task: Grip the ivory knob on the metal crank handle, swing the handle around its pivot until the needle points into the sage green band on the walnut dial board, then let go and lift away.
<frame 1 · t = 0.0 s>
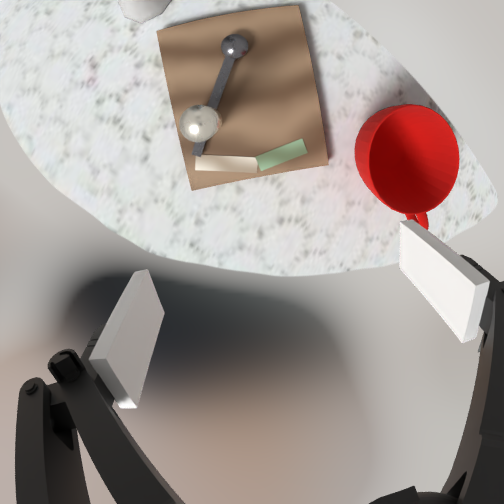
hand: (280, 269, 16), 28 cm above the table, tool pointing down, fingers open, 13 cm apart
ceramic cup: (385, 161, 41), on the table
flask: (146, 0, 30), on the table
metal crank handle: (214, 91, 31), point 7 cm above the table, hinge at -30.0°
dial board: (243, 93, 37), on the table
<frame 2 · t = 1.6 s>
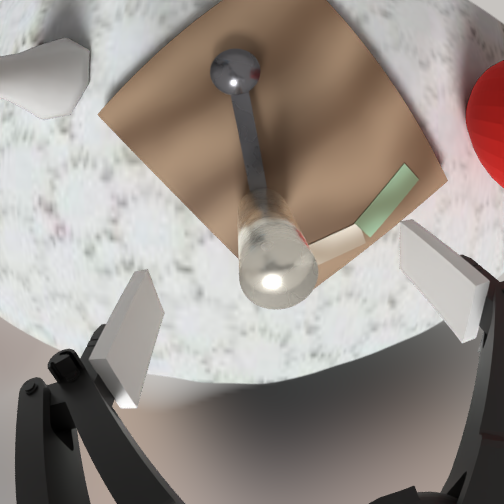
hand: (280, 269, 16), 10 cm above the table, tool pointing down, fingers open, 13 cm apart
ceramic cup: (495, 134, 23), on the table
flask: (56, 78, 19), on the table
metal crank handle: (257, 176, 17), point 7 cm above the table, hinge at -30.0°
dial board: (288, 135, 23), on the table
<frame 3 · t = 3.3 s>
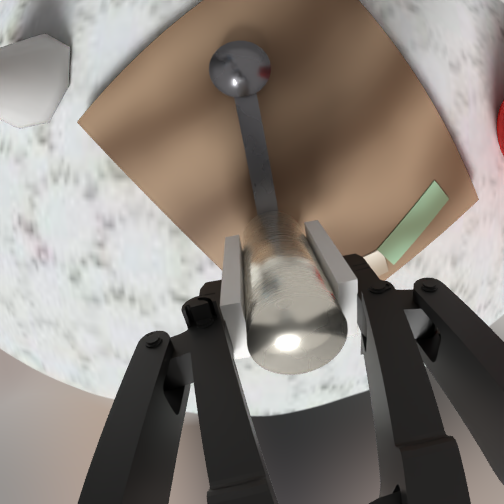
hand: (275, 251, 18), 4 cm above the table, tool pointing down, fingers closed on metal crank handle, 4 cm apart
flask: (34, 80, 16), on the table
metal crank handle: (269, 202, 14), point 7 cm above the table, hinge at -29.9°, touching gripper
dial board: (302, 146, 19), on the table
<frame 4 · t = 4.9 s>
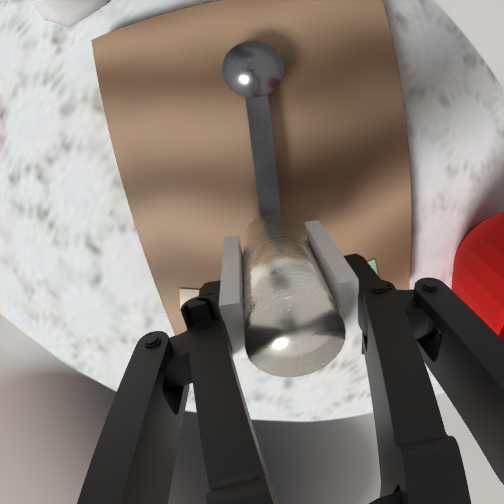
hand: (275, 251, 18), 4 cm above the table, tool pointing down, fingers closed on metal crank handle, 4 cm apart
ceramic cup: (479, 273, 24), on the table
metal crank handle: (274, 203, 14), point 7 cm above the table, hinge at -3.7°, touching gripper
dial board: (269, 167, 20), on the table
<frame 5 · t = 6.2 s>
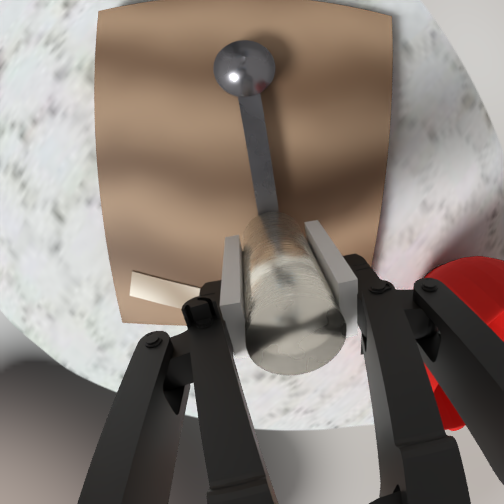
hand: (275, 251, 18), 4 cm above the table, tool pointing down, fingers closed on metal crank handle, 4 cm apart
ceramic cup: (436, 312, 26), on the table
metal crank handle: (270, 202, 14), point 7 cm above the table, hinge at 10.6°, touching gripper
dial board: (241, 168, 20), on the table
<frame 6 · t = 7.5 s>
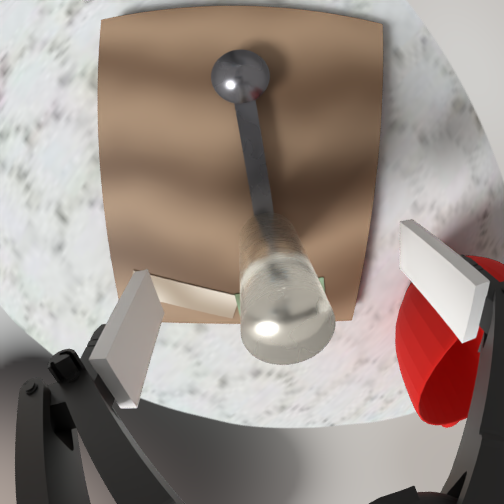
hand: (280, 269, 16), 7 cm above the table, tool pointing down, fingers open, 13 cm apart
ceramic cup: (429, 311, 27), on the table
metal crank handle: (264, 203, 15), point 7 cm above the table, hinge at 10.8°
dial board: (238, 171, 21), on the table
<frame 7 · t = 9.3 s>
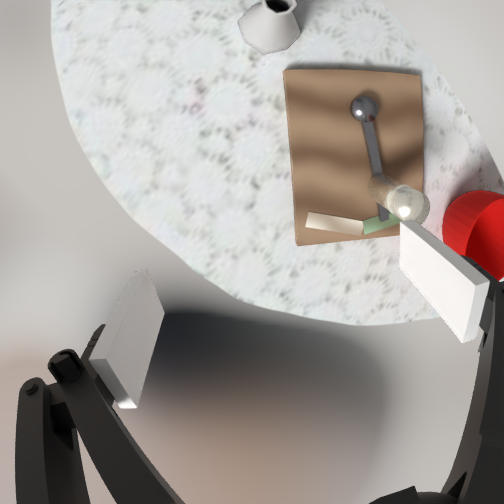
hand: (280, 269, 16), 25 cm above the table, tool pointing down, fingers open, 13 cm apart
ceramic cup: (457, 230, 43), on the table
flask: (268, 27, 31), on the table
metal crank handle: (390, 166, 32), point 7 cm above the table, hinge at 10.8°
dial board: (359, 155, 38), on the table
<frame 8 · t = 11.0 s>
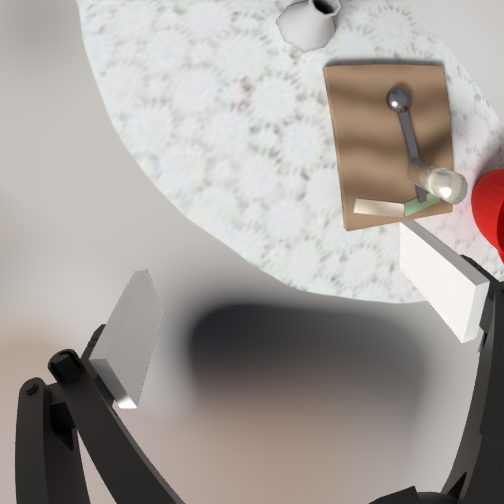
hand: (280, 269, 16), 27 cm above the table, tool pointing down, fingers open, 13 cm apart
ceramic cup: (484, 207, 43), on the table
flask: (305, 27, 32), on the table
metal crank handle: (428, 151, 33), point 7 cm above the table, hinge at 10.8°
dial board: (396, 143, 39), on the table
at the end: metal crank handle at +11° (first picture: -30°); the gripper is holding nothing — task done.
